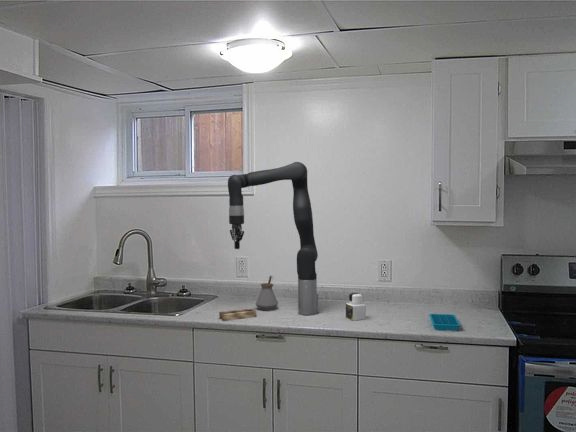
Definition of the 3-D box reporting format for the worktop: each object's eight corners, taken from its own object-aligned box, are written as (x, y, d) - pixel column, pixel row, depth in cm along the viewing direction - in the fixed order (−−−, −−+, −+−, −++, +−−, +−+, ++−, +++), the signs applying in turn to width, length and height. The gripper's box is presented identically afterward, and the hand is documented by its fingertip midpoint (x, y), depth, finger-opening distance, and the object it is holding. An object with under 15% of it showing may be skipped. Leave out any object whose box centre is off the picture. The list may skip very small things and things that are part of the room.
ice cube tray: (432, 331, 227) (432, 324, 227) (429, 319, 247) (429, 313, 247) (460, 332, 225) (460, 325, 225) (454, 320, 245) (454, 314, 245)
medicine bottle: (345, 317, 251) (345, 292, 250) (358, 316, 254) (358, 291, 253) (352, 321, 244) (352, 295, 244) (366, 319, 247) (366, 294, 246)
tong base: (255, 315, 257) (255, 308, 257) (258, 316, 254) (258, 309, 254) (221, 319, 248) (221, 312, 248) (223, 321, 245) (223, 314, 245)
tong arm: (252, 314, 258) (252, 308, 258) (254, 314, 256) (254, 309, 256) (219, 317, 251) (219, 311, 251) (220, 318, 249) (220, 312, 249)
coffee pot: (276, 311, 264) (276, 282, 263) (254, 311, 266) (253, 281, 265) (281, 302, 285) (281, 275, 285) (261, 302, 287) (260, 275, 286)
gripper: (248, 214, 259) (249, 249, 260) (237, 213, 271) (238, 247, 272) (235, 215, 256) (235, 250, 256) (224, 214, 267) (225, 248, 268)
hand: (237, 248), depth 264 cm, fingers closed
